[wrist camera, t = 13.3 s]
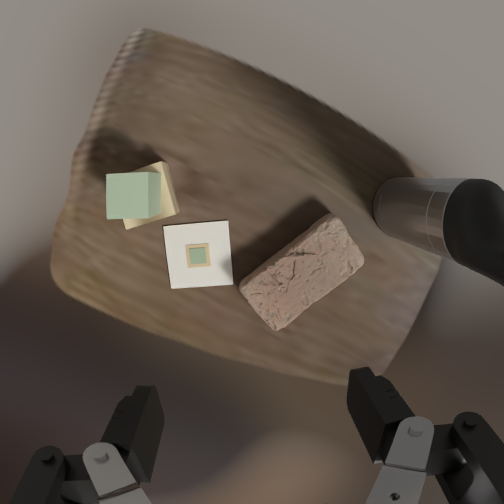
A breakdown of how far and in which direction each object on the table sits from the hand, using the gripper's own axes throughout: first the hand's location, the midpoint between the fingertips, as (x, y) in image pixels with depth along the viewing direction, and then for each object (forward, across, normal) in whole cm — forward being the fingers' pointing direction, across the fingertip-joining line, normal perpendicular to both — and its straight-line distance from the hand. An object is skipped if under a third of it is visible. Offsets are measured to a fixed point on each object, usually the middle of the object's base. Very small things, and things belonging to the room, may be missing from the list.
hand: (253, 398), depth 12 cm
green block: (+28, +12, -8) cm, 32 cm away
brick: (+33, -8, +4) cm, 34 cm away
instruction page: (+32, +6, +1) cm, 33 cm away
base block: (+32, +12, -8) cm, 35 cm away
